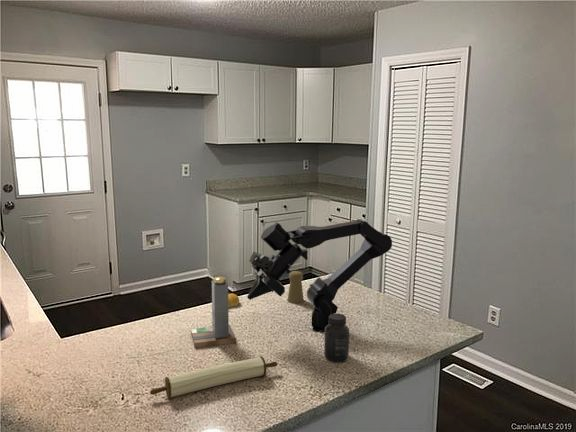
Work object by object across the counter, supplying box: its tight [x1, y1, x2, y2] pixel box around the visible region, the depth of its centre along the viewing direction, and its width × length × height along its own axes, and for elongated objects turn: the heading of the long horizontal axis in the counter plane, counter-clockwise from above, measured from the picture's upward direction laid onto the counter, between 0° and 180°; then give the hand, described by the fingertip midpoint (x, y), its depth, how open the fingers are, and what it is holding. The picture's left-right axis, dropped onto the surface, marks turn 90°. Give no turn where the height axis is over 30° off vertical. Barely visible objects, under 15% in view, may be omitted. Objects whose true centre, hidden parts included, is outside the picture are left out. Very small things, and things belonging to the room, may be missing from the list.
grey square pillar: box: [211, 276, 230, 338], centre depth 140 cm, size 4×9×17 cm, turn 17°
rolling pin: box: [149, 355, 278, 400], centre depth 116 cm, size 32×6×5 cm, turn 116°
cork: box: [286, 270, 305, 305], centre depth 172 cm, size 6×6×11 cm
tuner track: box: [190, 324, 237, 349], centre depth 142 cm, size 12×10×2 cm
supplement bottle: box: [323, 313, 350, 363], centre depth 130 cm, size 7×7×12 cm
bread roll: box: [228, 293, 240, 309], centre depth 169 cm, size 8×9×4 cm
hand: (248, 298), depth 141 cm, fingers closed
